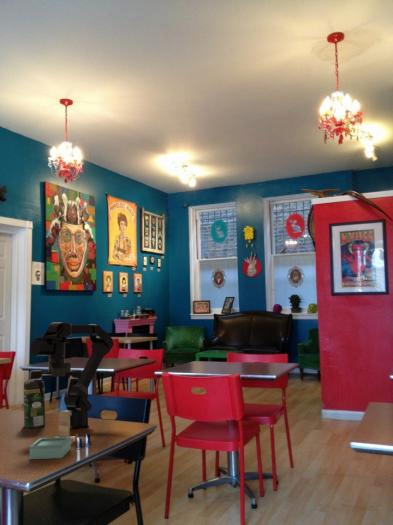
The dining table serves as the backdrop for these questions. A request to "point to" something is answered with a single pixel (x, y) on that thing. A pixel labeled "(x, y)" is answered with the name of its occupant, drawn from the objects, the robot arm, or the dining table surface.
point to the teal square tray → (50, 447)
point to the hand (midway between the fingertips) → (55, 397)
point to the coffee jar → (33, 404)
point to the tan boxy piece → (65, 425)
